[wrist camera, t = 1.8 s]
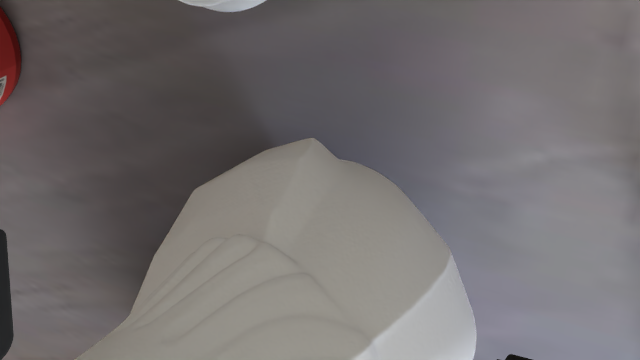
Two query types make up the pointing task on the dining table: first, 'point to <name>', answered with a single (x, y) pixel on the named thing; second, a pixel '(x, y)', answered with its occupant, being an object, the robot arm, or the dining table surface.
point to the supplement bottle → (225, 4)
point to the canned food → (8, 58)
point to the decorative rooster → (298, 271)
